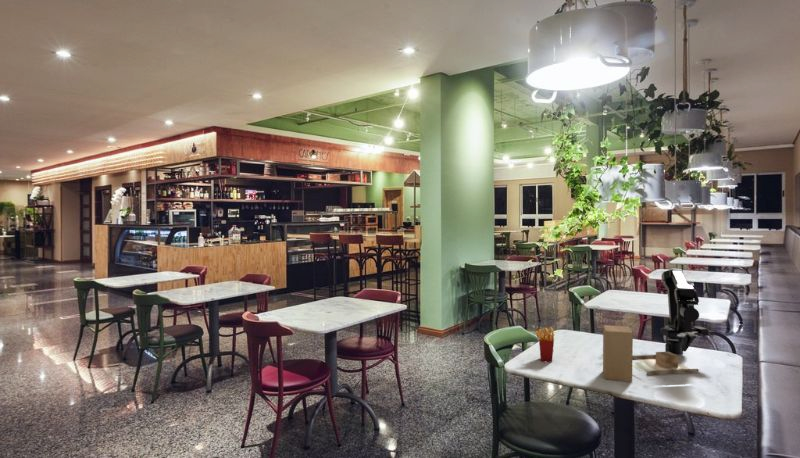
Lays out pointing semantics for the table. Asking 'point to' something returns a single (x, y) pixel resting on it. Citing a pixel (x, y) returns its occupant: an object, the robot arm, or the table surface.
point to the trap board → (658, 366)
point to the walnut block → (667, 359)
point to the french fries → (546, 344)
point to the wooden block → (617, 353)
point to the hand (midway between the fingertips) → (684, 351)
